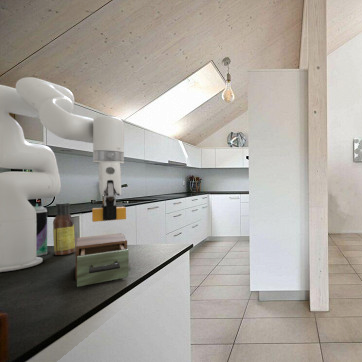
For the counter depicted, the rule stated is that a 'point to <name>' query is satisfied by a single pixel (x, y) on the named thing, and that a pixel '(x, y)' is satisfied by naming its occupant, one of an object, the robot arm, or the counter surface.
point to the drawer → (102, 264)
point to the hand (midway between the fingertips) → (109, 218)
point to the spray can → (41, 229)
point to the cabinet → (99, 242)
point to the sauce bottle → (63, 230)
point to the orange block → (98, 214)
